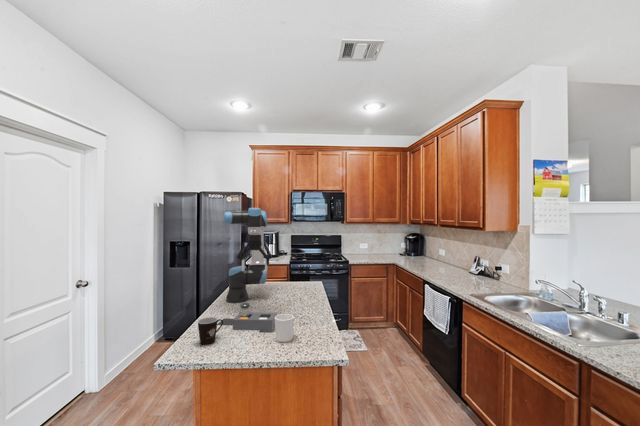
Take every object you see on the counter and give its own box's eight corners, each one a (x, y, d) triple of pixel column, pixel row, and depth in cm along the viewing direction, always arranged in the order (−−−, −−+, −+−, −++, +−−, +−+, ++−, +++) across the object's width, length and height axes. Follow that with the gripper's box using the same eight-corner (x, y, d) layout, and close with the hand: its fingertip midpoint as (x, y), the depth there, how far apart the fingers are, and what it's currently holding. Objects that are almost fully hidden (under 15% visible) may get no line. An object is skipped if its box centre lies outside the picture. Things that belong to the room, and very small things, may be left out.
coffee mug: (198, 347, 127) (198, 325, 127) (196, 340, 135) (196, 319, 135) (225, 342, 133) (225, 320, 133) (222, 335, 140) (222, 315, 140)
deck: (223, 320, 162) (223, 318, 162) (241, 320, 161) (241, 318, 161) (216, 327, 152) (216, 325, 152) (235, 327, 151) (235, 325, 151)
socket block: (240, 323, 157) (240, 311, 157) (276, 323, 156) (276, 311, 157) (232, 331, 145) (232, 319, 146) (272, 332, 144) (272, 319, 145)
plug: (242, 322, 153) (242, 303, 153) (250, 322, 153) (250, 303, 153) (239, 325, 149) (239, 305, 149) (248, 325, 148) (248, 305, 149)
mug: (285, 344, 130) (285, 321, 130) (270, 340, 135) (270, 318, 135) (300, 336, 139) (300, 314, 140) (285, 332, 144) (285, 311, 144)
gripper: (231, 234, 165) (231, 271, 165) (274, 234, 164) (274, 272, 163) (235, 234, 173) (235, 269, 172) (277, 233, 171) (277, 269, 171)
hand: (254, 270), depth 168 cm, fingers open, 13 cm apart
